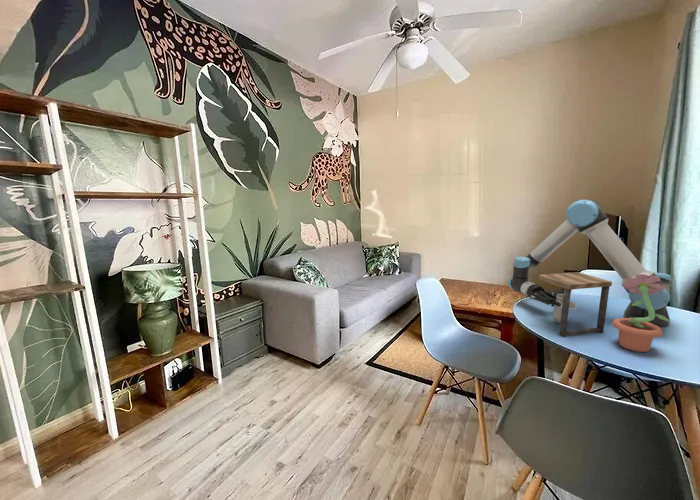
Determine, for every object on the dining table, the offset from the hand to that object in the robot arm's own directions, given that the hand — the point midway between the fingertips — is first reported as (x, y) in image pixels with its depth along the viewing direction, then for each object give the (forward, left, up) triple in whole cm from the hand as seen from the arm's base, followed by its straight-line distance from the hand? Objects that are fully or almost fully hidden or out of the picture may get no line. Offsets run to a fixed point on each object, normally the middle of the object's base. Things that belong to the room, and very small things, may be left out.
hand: (571, 307), depth 130 cm
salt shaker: (+2, -5, -9) cm, 11 cm away
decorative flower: (-17, +14, -10) cm, 24 cm away
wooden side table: (0, -1, -10) cm, 10 cm away
